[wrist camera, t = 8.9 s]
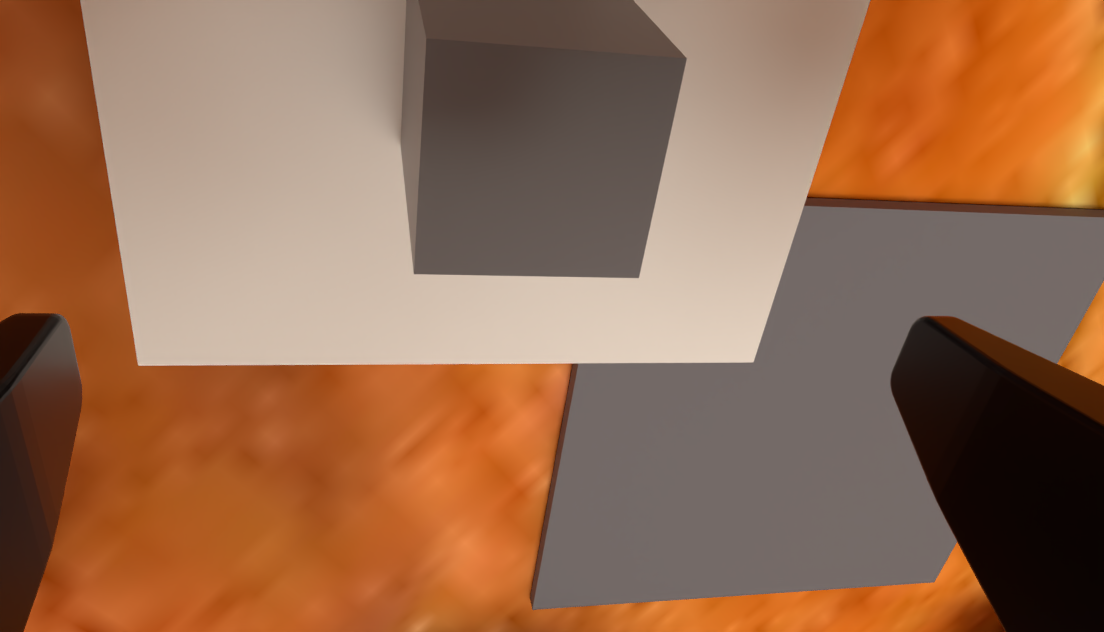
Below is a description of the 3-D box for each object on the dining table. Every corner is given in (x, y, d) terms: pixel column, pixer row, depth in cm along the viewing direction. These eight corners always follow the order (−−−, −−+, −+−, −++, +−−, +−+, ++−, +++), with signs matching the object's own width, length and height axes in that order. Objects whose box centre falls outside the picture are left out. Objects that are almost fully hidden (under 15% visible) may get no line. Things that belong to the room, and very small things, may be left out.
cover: (149, 333, 17) (83, 536, 13) (22, -521, 10) (-197, -664, 6) (736, 335, 19) (837, 501, 15) (941, -339, 13) (1212, -357, 9)
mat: (529, 597, 31) (532, 609, 31) (604, 189, 22) (609, 198, 22) (927, 571, 35) (934, 582, 34) (1125, 210, 26) (1138, 218, 26)
